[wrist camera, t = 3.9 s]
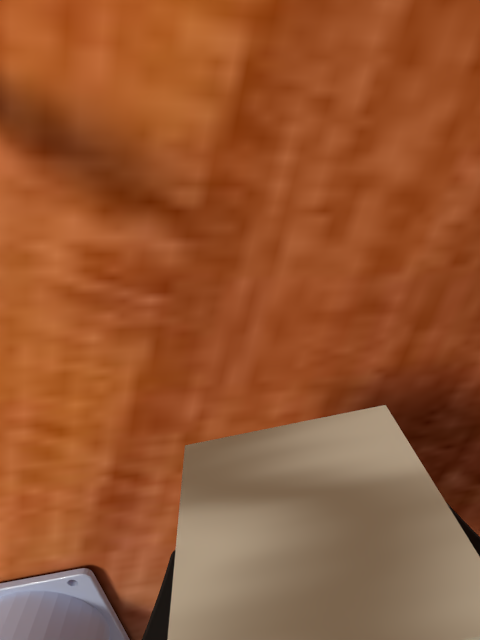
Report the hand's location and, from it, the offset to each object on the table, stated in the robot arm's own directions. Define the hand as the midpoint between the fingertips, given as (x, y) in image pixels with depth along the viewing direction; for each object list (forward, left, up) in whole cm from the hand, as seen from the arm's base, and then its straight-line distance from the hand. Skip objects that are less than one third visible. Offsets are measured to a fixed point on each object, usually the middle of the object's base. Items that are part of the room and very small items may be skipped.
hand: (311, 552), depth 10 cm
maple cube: (0, 0, -2) cm, 2 cm away
